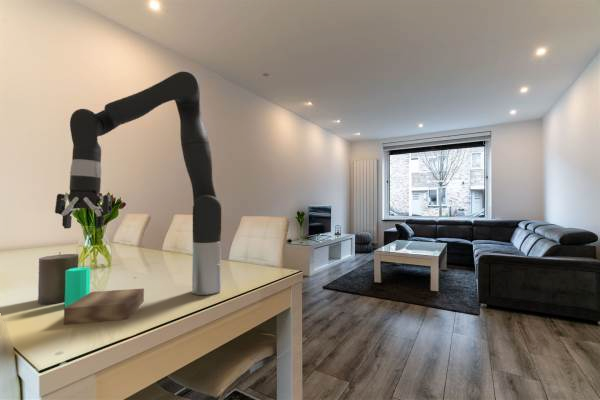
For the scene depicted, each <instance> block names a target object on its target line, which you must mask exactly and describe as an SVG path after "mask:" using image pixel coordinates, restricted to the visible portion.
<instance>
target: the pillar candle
mask: <svg viewBox="0 0 600 400" xmlns="http://www.w3.org/2000/svg"><path fill="white" fill-rule="evenodd" d="M79 257H80V256H79V254H78V253H66V254H65V253H63V254H62V253H61V252H59V254H55V255H47V256H42V257H39V258H38V282H37V283H38V284H37V286H38V293H37V295H38V297H37V302H38V304H39V305H50V304H51V305H53V304H58V303H59V304H60V303H65V274H66V270H69V269H72V268H78V264H79V260H80V259H79Z"/></svg>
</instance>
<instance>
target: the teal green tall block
mask: <svg viewBox="0 0 600 400" xmlns="http://www.w3.org/2000/svg"><path fill="white" fill-rule="evenodd" d="M79 266H80V263H78V268H72V269H69V270H66V274H65V302H64V307H65V308H66V307H67V306H69V305H71V304H72V303H74V302H76V301H77V300H79V299H81V298H82V297H84V296H86V295H87V294H89V293H91V267H85V266H80V267H79Z"/></svg>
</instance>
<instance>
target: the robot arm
mask: <svg viewBox="0 0 600 400" xmlns="http://www.w3.org/2000/svg"><path fill="white" fill-rule="evenodd" d="M200 93H201V91H200V83H199V80H198V79H197V77H196V76H195V75H194V74H193V73H191V72H188V71H178V72H176V73H174V74H172V75H170V76H168V77H166V78H165V79H162V80H161V81H159V82H158V83H155V84H153V85H152V86H149V87H147V88H145V89H143V90H140V91H139V92H136V93H133V94H131V95H128V96H125V97H122V98H120V99H117V100H114V101H111V102H109V103H107V104H105V105H104V106H103V107H104V109H103V110H101V111H99V112H97V113H94V111H92V110H90V109H88V108H87V109H86V108H79V109H77V110H74V112H73V113H72V114H71V116H70V119H69V128H70V129H69V131H70V136H71V141H72V144H73V145H72V157H71V159H72V160H71V165H70V172H69V175H70V176H69V193H68V194H65V193H57V195H56V201H55V208H54V213H55V214H56V215H57V214H58V215H61V216H62V223H61V224H62V227H63V228H64V229H71V228H72V217H73V216H72V214H73V213H74V212H75V211H77V210H78V209H86V210H87V209H88V210H90V209H91V211H93V213H95V215H96V217H95V229H96V230H97V229H103V227H104V226H105V217H106V216H108V215H111V214H112V213H113V212H112V211H113V210H112V196H111V195H110V194H109V195H108V194H104V195H101V183H102V181H101V180H102V179H101V178H102V166H101V165H102V164H101V163H102V148H101V146H100V144H99V142H98V141H99V140H98V137H100V136H101V137H102V136H104V135H106V134H108V133H110V132H112V131H113V130H115V129H117V128H118V127H119V126H121V125H125V124H127V123H130V122H132V121H135V120H138V119H140V118H142V117H144V116H145V115H148V114H149V113H150V112H151V111H154V109H156V108H158V107H159V106H161V105H164V104H165V103H168V102H172V101H175V105H176V108H177V113H178V117H179V121H180V126H179V128H180V129H179V130H180V133H179V134H180V135H179V136H180V145H181V150H182V155H183V161H184V164H185V168H186V171H187V174H188V178H189V180H190V184H191V188H192V200H193V205H192V269H191V270H192V274H191V275H192V277H191V278H192V279H191V280H192V281H191V282H192V285H191V288H192V289H191V291H192V294H193V295H197V296H206V295H213V294H219V293H221V282H222V281H221V279H222V277H221V276H222V275H221V272H222V267H221V265H222V263H221V249H222V248H221V245H222V243H221V241H222V240H221V239H222V238H221V237H222V204H221V203H220V200H218V198H217V194H216V191H215V188H214V187H215V186H214V182H213V181H214V180H213V160H212V153H211V152H212V151H211V147H210V141H209V137H208V134H207V131H206V127H205V125H204V122H203V119H202V112H201V111H202V110H201V99H200V98H201V94H200ZM68 200H69V201H70V202H69V204H68V205H67V204H66V203H67V201H68ZM100 201H101V202H102V203H103V207H102V206H100V204H99V202H100ZM66 205H67V206H66Z"/></svg>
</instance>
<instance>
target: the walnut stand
mask: <svg viewBox="0 0 600 400" xmlns="http://www.w3.org/2000/svg"><path fill="white" fill-rule="evenodd" d="M144 297H145V289H144V288H131V289H128V288H127V289H117V290H116V289H114V290H100V291H99V290H98V291H97V290H96V291H90V293H89V294H87V295H86V296H84V297H82V298H81V299H79V300H77V301H76V302H74V303H72V304H71V305H69V306H67V307H66V306H65V307H64V309H63V325H73V324H74V325H75V324H84V323H85V324H87V323H94V322H95V323H97V322H99V323H100V322H109V321H119V320H120V321H121V320H127V319H129V318H130V316H132V314H133V313H134V312H135V311H136V310H138V308H139V307H140V306H141V305H142V304H143V303H144V301H145V299H144Z"/></svg>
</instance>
